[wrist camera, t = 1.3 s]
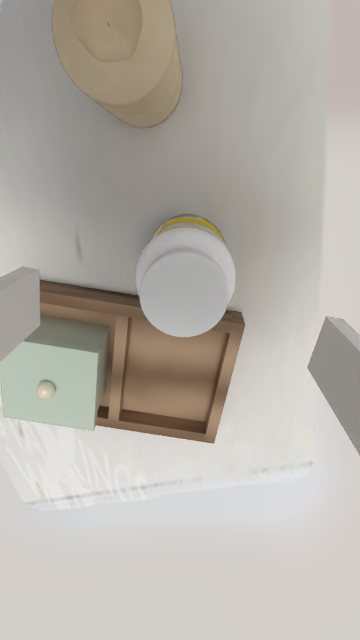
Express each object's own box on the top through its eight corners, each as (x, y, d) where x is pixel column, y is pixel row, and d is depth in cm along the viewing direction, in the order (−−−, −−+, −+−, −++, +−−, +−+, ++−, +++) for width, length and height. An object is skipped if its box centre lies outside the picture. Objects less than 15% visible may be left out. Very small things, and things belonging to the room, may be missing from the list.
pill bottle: (182, 301, 29) (175, 370, 19) (135, 246, 27) (98, 289, 17) (241, 258, 27) (267, 307, 17) (194, 196, 25) (192, 209, 15)
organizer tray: (16, 276, 28) (0, 284, 26) (241, 312, 29) (245, 324, 26) (22, 395, 34) (10, 411, 31) (212, 425, 34) (213, 443, 32)
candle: (104, 126, 23) (45, 95, 14) (100, 29, 21) (27, -82, 12) (180, 130, 23) (169, 101, 14) (184, 33, 21) (175, -77, 12)
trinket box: (29, 310, 29) (-13, 344, 23) (114, 324, 29) (93, 360, 23) (32, 381, 32) (-5, 426, 26) (108, 393, 32) (89, 440, 26)
